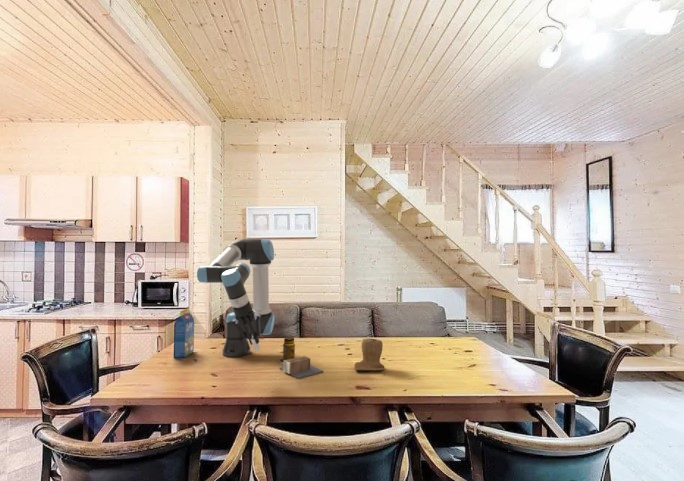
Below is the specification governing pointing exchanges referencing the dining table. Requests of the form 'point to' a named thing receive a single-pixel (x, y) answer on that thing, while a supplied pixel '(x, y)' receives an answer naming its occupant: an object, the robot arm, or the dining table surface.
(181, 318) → the blue food package
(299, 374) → the mat
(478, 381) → the dining table surface
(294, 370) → the walnut block
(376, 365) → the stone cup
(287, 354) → the condiment
